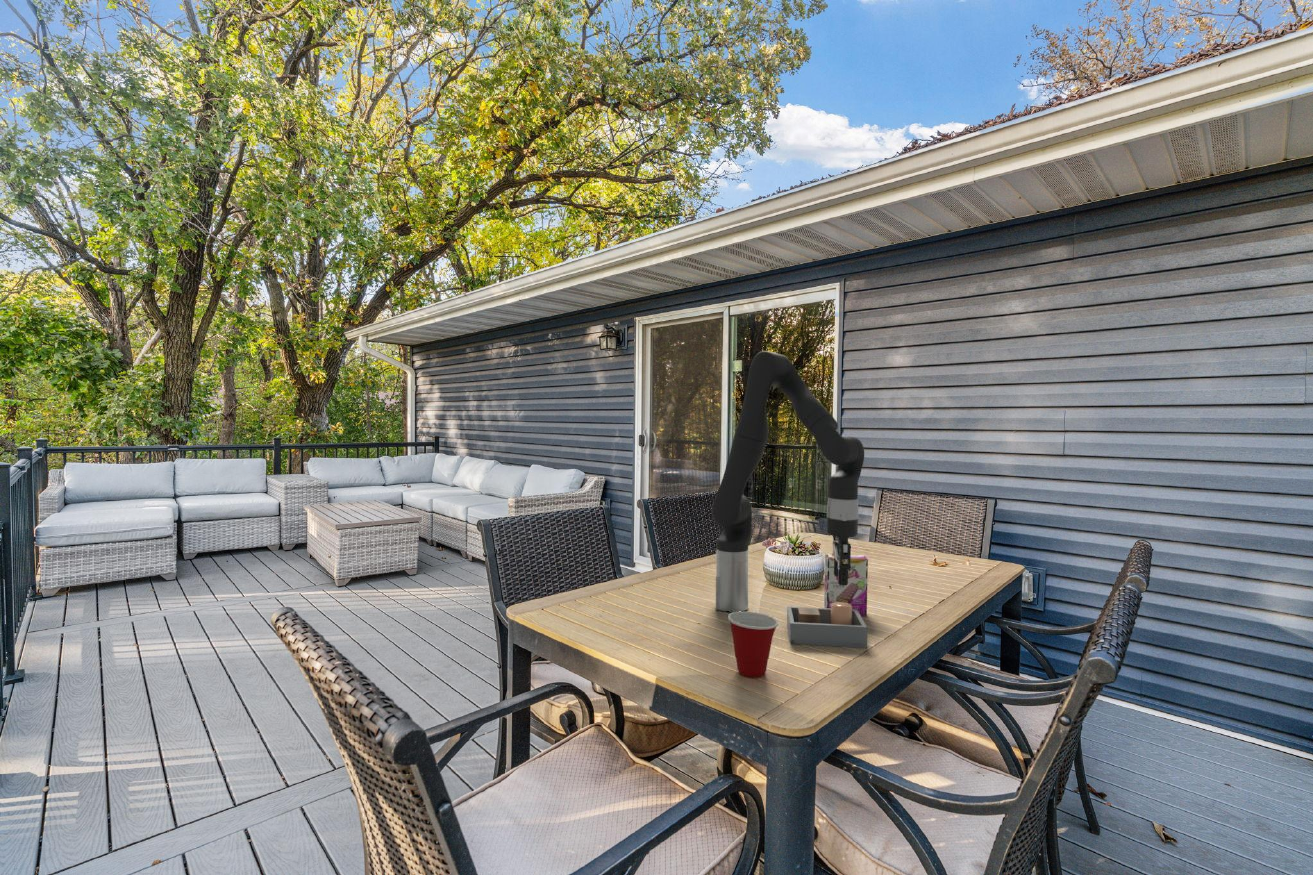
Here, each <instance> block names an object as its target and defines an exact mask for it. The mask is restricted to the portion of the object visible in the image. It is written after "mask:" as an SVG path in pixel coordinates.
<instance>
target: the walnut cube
mask: <svg viewBox="0 0 1313 875" xmlns="http://www.w3.org/2000/svg"><path fill="white" fill-rule="evenodd" d="M798 622H800V623H819V624H820V613H819V610H818V609H807V608H798Z"/></svg>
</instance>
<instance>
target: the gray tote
mask: <svg viewBox="0 0 1313 875" xmlns="http://www.w3.org/2000/svg"><path fill="white" fill-rule="evenodd" d="M798 608H807V609H818V610H819V613H820V624H819V623H800V622H798ZM786 628H787V633H788V638H789V644H790V645H805V646H806V645H807V646H809V645H810V646H822V647H823V646H826V647H844V648H859V649H861V648H862V649H868V626H867V624H866V623H865V621H864V619H863V616H860V614H859V612H858V610H852V625H839V624H831V608H824V607H809V606H808V607H805V606H786Z"/></svg>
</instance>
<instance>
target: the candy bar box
mask: <svg viewBox="0 0 1313 875" xmlns="http://www.w3.org/2000/svg"><path fill="white" fill-rule="evenodd" d="M843 564H846V562H843ZM868 565H869V559H868V558H867V556H865V555H864V554H863V555H861V554H851V560H850V566H851V568H850V569H849V570H848V584H847V585H839V584H838V576H835V575H834V560H833V555H832V553H826V554H825V557H824V595H823V596H824V602H823V603H824V604H823V605H824V606H823V608H831V603H834V602H844V603H848V604H851V605H852V610H858V612H859V614H860V616H861V617H867V614H868V610H867V609H868V568H869V566H868Z"/></svg>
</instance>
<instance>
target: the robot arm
mask: <svg viewBox="0 0 1313 875" xmlns="http://www.w3.org/2000/svg"><path fill="white" fill-rule="evenodd" d="M771 387H773V388H774V387H775V388H777V389H778V390H780V392H781V393H783V395H785V396H786V397H787V398H788V400H789V401H790V403H791V404H792V407H793V410H794V412H795V414H796V417H797V418H798V420H799V422H800V423H801V425H802V426H804V427H805V428H806V430H807V431H808V432H809V434H810V435H811V436H812V437H813V438H814V441H815V443H816V445H817V446H818V448H819V451H820V452H821V454H822V456H823V457H824V459H826V460H827V461H828V462H829V463H831V464H832V465H836V466H837V468H836V472H835V473H834V474H832V475H831V476H830V477H829V480H828V498H827V500H828V501H827V504H826V528H825V529H826V534H827V535H829V536H831V537H832V553H831V554H832V555H833V560H834V575H835V576H838V584H839V585H847V584H848V570H849V569H850V568H851V566H850V560H851V555H852V554H851V551H852V545H851V543H850V541H849V538H856V537H857V536H858V535H859V534H858V530H859V529H858V528H859V502H858V501H859V500H858V497H859V480H860V477H861V474H862V469H863V466H864V461H865V460H864V459H865V449H864V444H863V443H862V442H861V440H860V439H858V438H857V437H854V436H842V435H841V434H840V432H838V428H839V425H838V421H837V420H836V419H835V418H834V416H833V415H832V414H831V413H830V412H829V411H828V410H827V409H826V408H825V407H824V406H823V404H822V403H821V402H820V401H819V400H818V399H817V397H815V395H814V394H813V393H812V391H811V389H809V387H808V386H807V384H806V383H805V382H804V380H803V379H802V378H801V375H800V373H799V372H798V370H797V369H796V367H795V366H794V364H793V363H792V361H791V359H789V357H787V356H785V355H783V354H781V353H777V352H772V351H768V350H763V351H760V352H758V353H757V354H756V355H755V356H754V357H753V358H752V361H751V363H750V366H749V370H748V374H747V382H746V387H745V393H744V398H743V402H742V407H741V409H740V410H741V411H740V415H739V417H738V422H737V426H736V429H735V432H734V435H733V437H732V438H733V439H732V443H731V448H730V451H729V455H728V458H727V462H726V464H725V469H724V474H723V475H722V479H721V482H720V484H719V486H718V490H717V492H716V495H715V497H714V500H713V502H712V505H711V506H712V507H711V517H712V520H713V521H714V523H715V524H716V525H717V526H718V527H721V528H722V531H721V534H720V535H719V536H718V538H717V539H716V544H715V545H716V546H715V547H716V550H715V551H716V554H715V555H716V557H715V558H716V559H715V560H716V562H715V563H716V565H715V567H716V569H715V570H716V574H715V610H717V611H718V610H719V611H721V612H726V611H729V612H728V613H733V612H739V611H741V612H746V611H747V610H748V609H749V543H750V541H751V537H752V524H753V523H752V522H753V521H752V519H753V518H752V517H753V511H752V510H753V509H752V505H751V504H752V503H751V502H750V500H749V499H748V497H747V496H746V495H744V492H745V488H746V485H747V483H748V481H749V479H750V478H751V476H752V475H753V473H754V472H755V470H756V468H757V467H758V465H759V464H760V461H761V460H762V458H763V455H764V453H765V449H766V445H767V442H768V438H769V424H768V423H769V422H768V416H767V401H768V397H769V394H770V390H771ZM843 562H846V564H843Z"/></svg>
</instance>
